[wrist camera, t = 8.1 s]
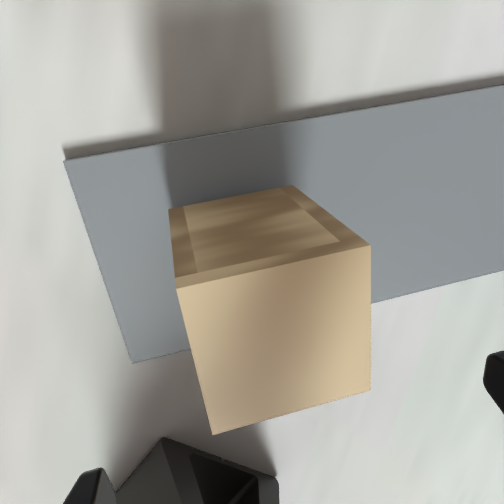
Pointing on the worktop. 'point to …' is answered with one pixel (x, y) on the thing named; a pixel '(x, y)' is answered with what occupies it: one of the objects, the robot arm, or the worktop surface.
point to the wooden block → (272, 304)
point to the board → (316, 188)
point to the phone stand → (195, 479)
